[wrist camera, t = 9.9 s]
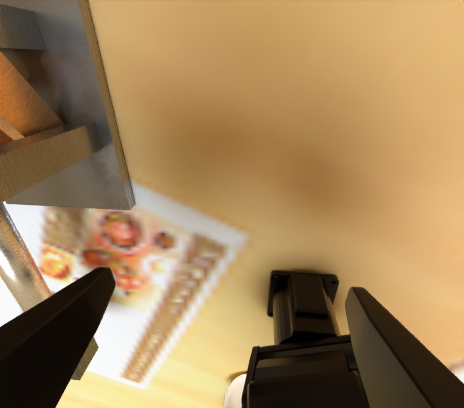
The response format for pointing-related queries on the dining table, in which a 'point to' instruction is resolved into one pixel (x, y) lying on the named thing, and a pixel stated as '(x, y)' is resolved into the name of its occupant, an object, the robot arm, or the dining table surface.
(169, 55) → the dining table surface
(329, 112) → the dining table surface
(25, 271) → the shaft
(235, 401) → the spread jar
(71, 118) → the bracket
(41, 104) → the block
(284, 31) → the dining table surface
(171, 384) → the dining table surface
